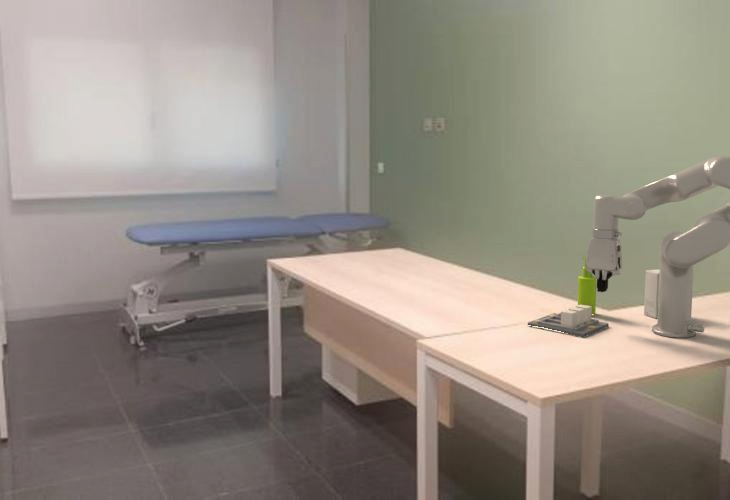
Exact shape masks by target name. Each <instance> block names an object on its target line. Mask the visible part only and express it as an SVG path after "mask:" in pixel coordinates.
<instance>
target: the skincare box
mask: <svg viewBox="0 0 730 500" xmlns="http://www.w3.org/2000/svg"><path fill="white" fill-rule="evenodd" d="M659 273H660V269H648V270H647V269H646V270H645V283H644V305H643V314H644V315H645V316H646V317H651V318H654V319H658V297H659Z"/></svg>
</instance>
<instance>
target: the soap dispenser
mask: <svg viewBox="0 0 730 500" xmlns="http://www.w3.org/2000/svg"><path fill="white" fill-rule="evenodd" d="M582 260H584V266H582V267H581V268H582V269H581V270H582V271H581V272H582V273H581V275H580V276H578V277H577V278H578V279H577V280H578V281H577V283H578V285H577V286H578V287H577V306H578V305H586V306H592V310H591V315H592V314H595V315H596V311H597V310H596V307H597V306H596V305H597V304H596V303H597V300H596V298H597V279H596V278H595V275H594V274H593V273H592V272H589V271H587V263H586V261H587V256H586V257H583V258H582Z"/></svg>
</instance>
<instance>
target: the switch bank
mask: <svg viewBox="0 0 730 500" xmlns="http://www.w3.org/2000/svg"><path fill="white" fill-rule="evenodd" d="M528 325H531V326H538V327H544V328H548V329H552V330H557V331H561V332H564V333H568V334H572V335H571V336H573V335H575V336H574V337H578V336H580V337H579V338H585V336H586V337H588V336H590V335H593V334H595V333H597V332H600V331H601V329H602V330H604V328H605V329H607V328H609V325H610V324H609V322H604V321H600V320H599V319H596V318H591V322H586V321H584V324H583V325H579V324H577V327H576V328H572V327H567V326H562V325H561V312H559V313H555V312H554V313H550V314H548V315H545V316H542V317H540V318H537V319H534V320H531V321H528V322H527V326H528ZM599 330H600V331H599ZM596 331H597V332H596ZM594 332H595V333H594ZM592 333H593V334H592ZM568 334H567V335H568ZM587 335H588V336H587Z"/></svg>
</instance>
